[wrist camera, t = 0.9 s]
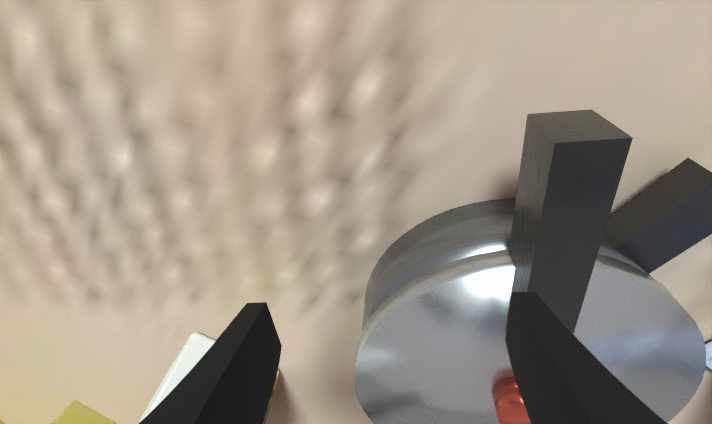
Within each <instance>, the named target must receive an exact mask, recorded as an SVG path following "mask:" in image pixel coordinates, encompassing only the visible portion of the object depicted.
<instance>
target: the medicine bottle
mask: <svg viewBox="0 0 712 424" xmlns="http://www.w3.org/2000/svg"><path fill="white" fill-rule="evenodd" d="M215 341H216V340H214V339H212V338H209V337H207V336H205V335H203V334H200V333H198V332H195V333H193V334H192V335H191V336H190V337H189V339H188V340H187V342H186V344H185V345H184V347H183V348H182V350H181V351H180V353H179V355H178V356H177V358H176V359H175V361H174V362H173V364H172V365H171V367H170V369H169V370H168V372H167V373H166V375H165V376H164V378H163V380H162V382H161V383H160V385H159V387H158V389H157V391H156V392H155V394H154V396H153V398H152V399H151V401H150V403H149V405H148V406H147V408H146V410H145V412H144V414H143V415H142V417H141V419H140V421H139V422H138V424H139V423H140V422H141V421H142V420H143V419H144V418H145V417H146V416H147V415H148V414H149V413H150V412H151V411H152V410H153V409H154V408H155V407H156V406H157V405H158V404H159V403H160V402H161V401H162V400H163V399H164V398H165V397H166V396H167V395H168V394H169V393H170V392H171V391H172V390H173V389H174V388H175V387H176V386H177V385H178V384H179V382H180V381H181V380H182V379H183V378H184V377H185V376H186V375H187V374H188V373H189V372H190V371H191V369H192V368H193V367H194V366H195V365H196V364H197V363H198V361H199V360H200V359H201V358H202V357H203V356H204V354H205V353H206V352H207V351H208V350H209V349H210V347H211V346H212V345H213V344H214V343H215ZM278 376H279V370H278V371H277V377H276V381H275V385H274V389H273V392H272V396H271V399H270V403H269V406H268V410H267V413H266V416H265V420H264V423H263V424H265V422H266V418H267V415H268V411H269V407H270V404H271V400H272V397H273V393H274V390H275V386H276V383H277V379H278Z"/></svg>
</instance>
